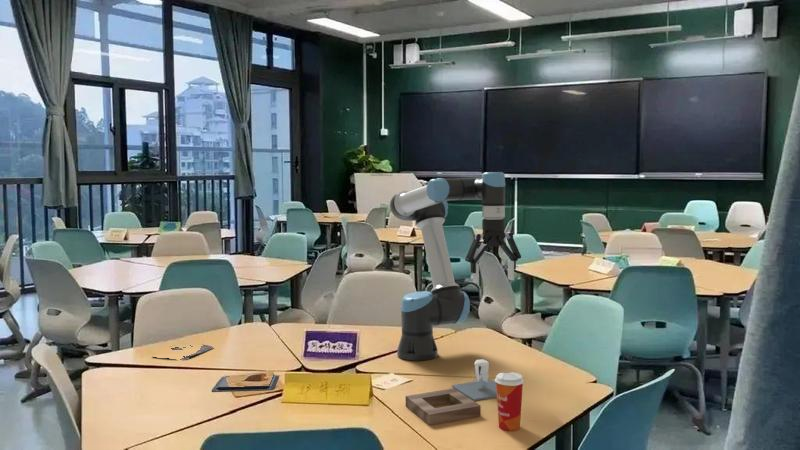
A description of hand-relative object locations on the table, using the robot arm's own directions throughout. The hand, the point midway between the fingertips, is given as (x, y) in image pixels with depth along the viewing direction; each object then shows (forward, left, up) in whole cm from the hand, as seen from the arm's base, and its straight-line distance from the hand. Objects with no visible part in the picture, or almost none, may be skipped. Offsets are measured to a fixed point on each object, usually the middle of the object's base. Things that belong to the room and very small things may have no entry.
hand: (493, 281), depth 215 cm
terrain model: (-73, -94, -33) cm, 123 cm away
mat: (+14, -13, -32) cm, 37 cm away
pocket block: (+24, -32, -32) cm, 50 cm away
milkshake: (+14, -12, -31) cm, 36 cm away
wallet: (-25, -79, -32) cm, 89 cm away
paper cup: (+42, -21, -32) cm, 56 cm away
